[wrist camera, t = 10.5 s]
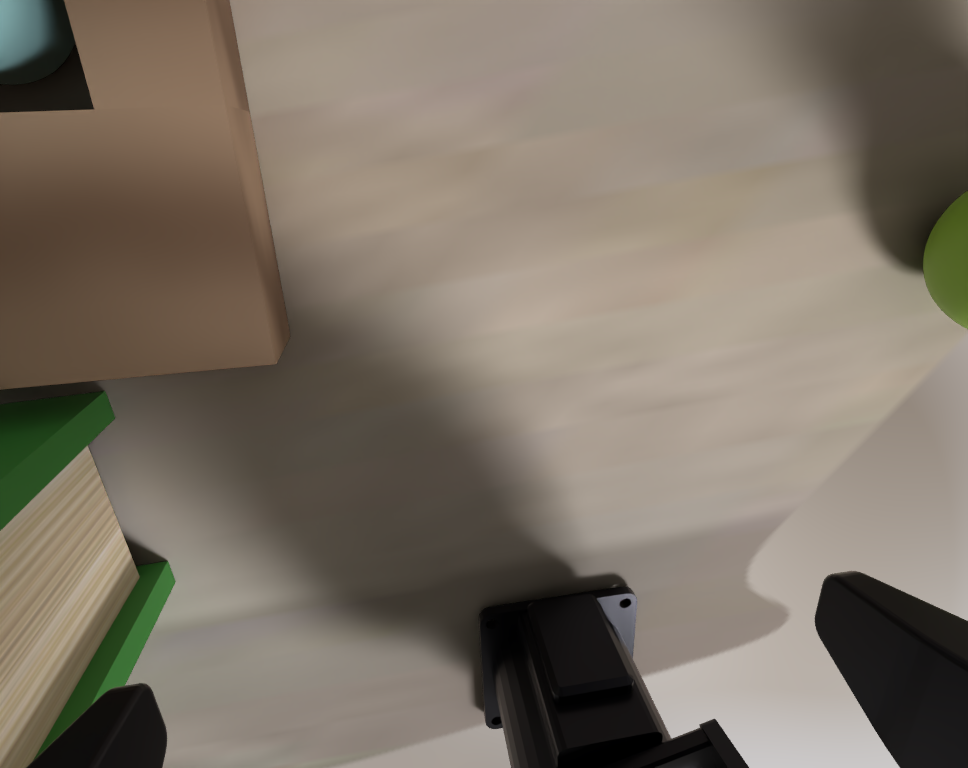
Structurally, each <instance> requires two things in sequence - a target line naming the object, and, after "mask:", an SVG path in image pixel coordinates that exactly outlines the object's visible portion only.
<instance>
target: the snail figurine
mask: <svg viewBox="0 0 968 768" xmlns="http://www.w3.org/2000/svg"><path fill="white" fill-rule="evenodd" d="M923 272H924V278H925V282H926V285H927V288H928V291H929V293H930V295H931V297H932V298H933V300H934V301H935V303H936V304H937V305H938V307H939V308H940V309H941V310H942V311H943V312H944V313H945V314H946V315H947V316H948V317H950V318H951V319H952V320H954V321H955V322H956V323H958V324H960V325H961V326H963V327H965V328H967V329H968V190H967V191H966V192H965V193H963V194H962V195H961V196H960V197H959V198H957V199H956V200H955V201H954V202H953V203H952V204H951V205H950V206H949V207H948V208H947V209H946V210H945V212H944V213H943V214H942V215H941V217H940V218H939V219H938V221H937V222H936V224H935V226H934V227H933V229H932V231H931V233H930V235H929V238H928V240H927V243H926V247H925V251H924V257H923Z"/></svg>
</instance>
